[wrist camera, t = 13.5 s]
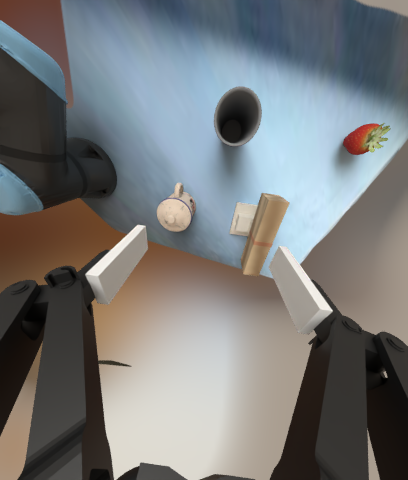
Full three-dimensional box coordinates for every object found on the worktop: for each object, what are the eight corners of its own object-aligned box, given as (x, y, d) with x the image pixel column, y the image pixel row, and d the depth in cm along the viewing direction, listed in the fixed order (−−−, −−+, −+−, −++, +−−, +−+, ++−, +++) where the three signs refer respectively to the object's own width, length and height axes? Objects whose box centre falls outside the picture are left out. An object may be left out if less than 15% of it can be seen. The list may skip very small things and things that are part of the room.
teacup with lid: (194, 221, 47) (187, 240, 37) (167, 216, 47) (152, 233, 37) (199, 182, 41) (192, 192, 31) (167, 176, 41) (150, 184, 31)
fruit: (355, 153, 34) (389, 153, 27) (329, 155, 34) (356, 156, 28) (365, 125, 31) (406, 118, 24) (338, 128, 32) (369, 121, 25)
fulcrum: (229, 232, 47) (230, 243, 41) (236, 202, 42) (239, 210, 36) (266, 237, 47) (272, 250, 41) (278, 208, 42) (287, 217, 36)
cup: (252, 125, 33) (272, 107, 20) (234, 154, 36) (241, 155, 24) (228, 105, 32) (232, 73, 19) (211, 138, 35) (205, 129, 22)
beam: (240, 259, 44) (243, 274, 39) (261, 192, 34) (268, 200, 28) (254, 262, 44) (258, 276, 39) (279, 195, 33) (290, 203, 28)
